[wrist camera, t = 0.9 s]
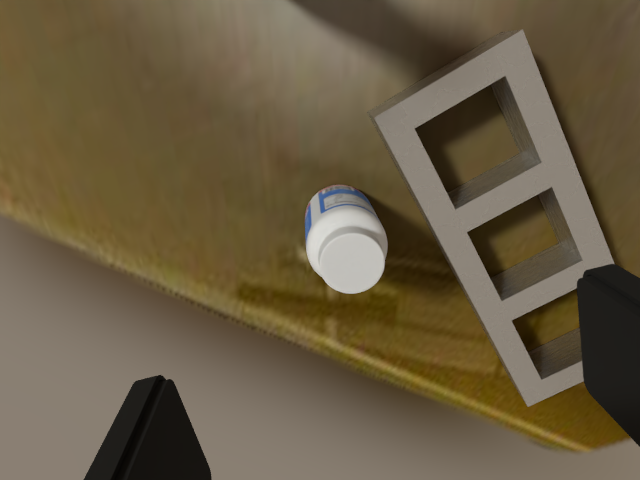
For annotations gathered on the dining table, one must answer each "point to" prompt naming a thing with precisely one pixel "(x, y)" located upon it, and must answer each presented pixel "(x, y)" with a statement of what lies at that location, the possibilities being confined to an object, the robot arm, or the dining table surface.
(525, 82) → the hollow concrete block
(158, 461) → the robot arm
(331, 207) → the pill bottle
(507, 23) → the dining table surface
